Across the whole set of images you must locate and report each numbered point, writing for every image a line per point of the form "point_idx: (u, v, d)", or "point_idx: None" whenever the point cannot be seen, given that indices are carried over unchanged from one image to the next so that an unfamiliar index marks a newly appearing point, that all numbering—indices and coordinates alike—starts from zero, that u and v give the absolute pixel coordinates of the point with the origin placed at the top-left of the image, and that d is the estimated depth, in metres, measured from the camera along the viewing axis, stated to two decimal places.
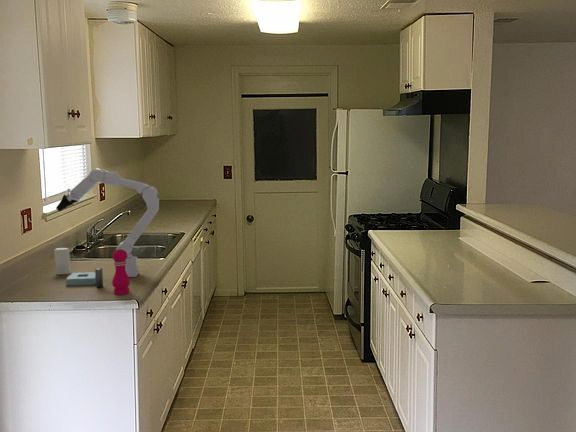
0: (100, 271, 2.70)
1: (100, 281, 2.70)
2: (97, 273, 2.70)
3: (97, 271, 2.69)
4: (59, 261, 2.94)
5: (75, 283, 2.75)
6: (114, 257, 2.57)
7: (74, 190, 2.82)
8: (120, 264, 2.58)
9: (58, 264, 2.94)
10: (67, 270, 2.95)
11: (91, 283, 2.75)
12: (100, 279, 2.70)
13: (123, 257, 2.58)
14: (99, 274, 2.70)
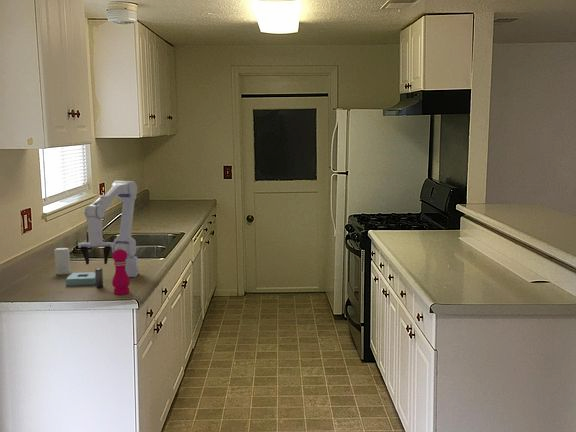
0: (100, 271, 2.70)
1: (100, 281, 2.70)
2: (97, 273, 2.70)
3: (97, 271, 2.69)
4: (59, 261, 2.94)
5: (75, 283, 2.75)
6: (114, 257, 2.57)
7: (100, 238, 2.68)
8: (120, 264, 2.58)
9: (58, 264, 2.94)
10: (67, 270, 2.95)
11: (91, 283, 2.75)
12: (100, 279, 2.70)
13: (123, 257, 2.58)
14: (99, 274, 2.70)
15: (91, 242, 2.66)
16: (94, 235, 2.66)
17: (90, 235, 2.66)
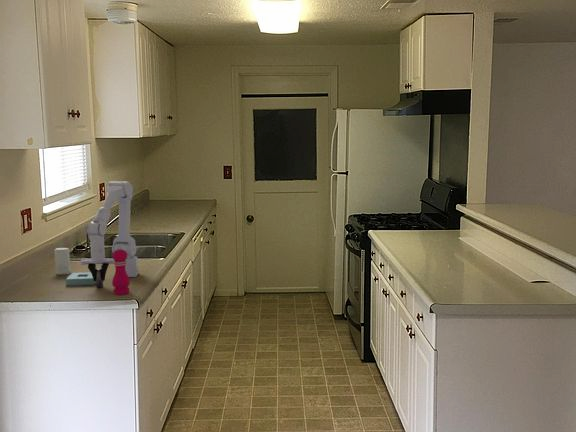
0: (100, 271, 2.70)
1: (100, 281, 2.70)
2: (97, 273, 2.70)
3: (97, 271, 2.69)
4: (59, 261, 2.94)
5: (75, 283, 2.75)
6: (114, 257, 2.57)
7: (103, 255, 2.69)
8: (120, 264, 2.58)
9: (58, 264, 2.94)
10: (67, 270, 2.95)
11: (91, 283, 2.75)
12: (100, 279, 2.70)
13: (123, 257, 2.58)
14: (99, 274, 2.70)
15: (94, 259, 2.67)
16: (97, 252, 2.67)
17: (92, 252, 2.67)
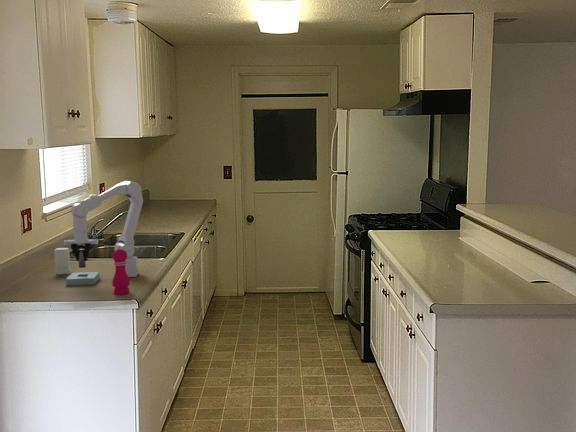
0: (83, 251, 2.78)
1: (83, 261, 2.78)
2: (80, 253, 2.77)
3: (80, 251, 2.77)
4: (59, 261, 2.94)
5: (75, 283, 2.75)
6: (114, 257, 2.57)
7: (85, 236, 2.77)
8: (120, 264, 2.58)
9: (58, 264, 2.94)
10: (67, 270, 2.95)
11: (91, 283, 2.75)
12: (83, 259, 2.78)
13: (123, 257, 2.58)
14: (82, 254, 2.78)
15: (76, 239, 2.75)
16: (79, 233, 2.75)
17: (75, 233, 2.75)
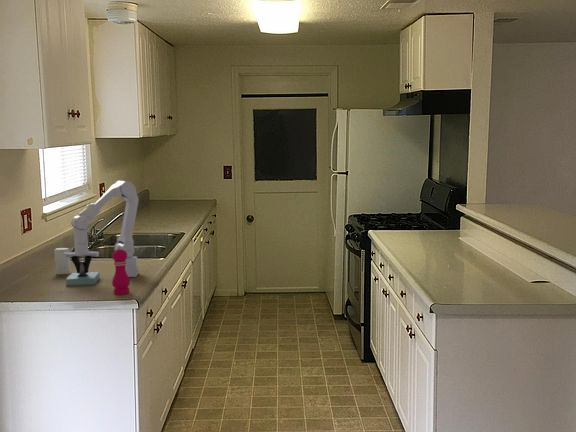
0: (84, 263, 2.78)
1: (83, 273, 2.79)
2: (81, 265, 2.78)
3: (81, 264, 2.78)
4: (59, 261, 2.94)
5: (75, 283, 2.75)
6: (114, 257, 2.57)
7: (86, 248, 2.77)
8: (120, 264, 2.58)
9: (58, 264, 2.94)
10: (67, 270, 2.95)
11: (91, 283, 2.75)
12: (84, 271, 2.79)
13: (123, 257, 2.58)
14: (83, 266, 2.78)
15: (77, 252, 2.76)
16: (80, 245, 2.76)
17: (76, 245, 2.76)
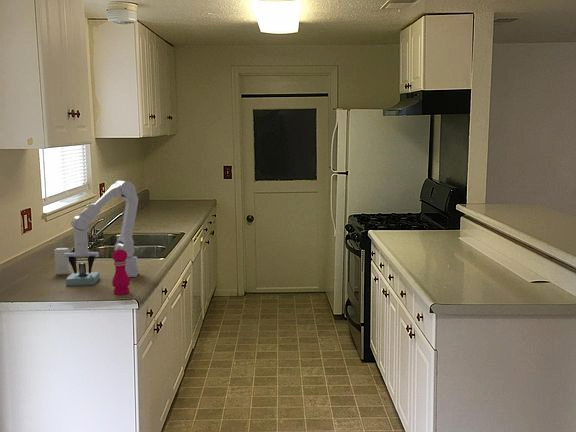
0: (84, 265, 2.79)
1: (83, 275, 2.79)
2: (81, 267, 2.78)
3: (81, 265, 2.78)
4: (59, 261, 2.94)
5: (75, 283, 2.75)
6: (114, 257, 2.57)
7: (86, 249, 2.77)
8: (120, 264, 2.58)
9: (58, 264, 2.94)
10: (67, 270, 2.95)
11: (91, 283, 2.75)
12: (84, 273, 2.79)
13: (123, 257, 2.58)
14: (83, 268, 2.78)
15: (77, 252, 2.76)
16: (80, 246, 2.76)
17: (76, 246, 2.76)
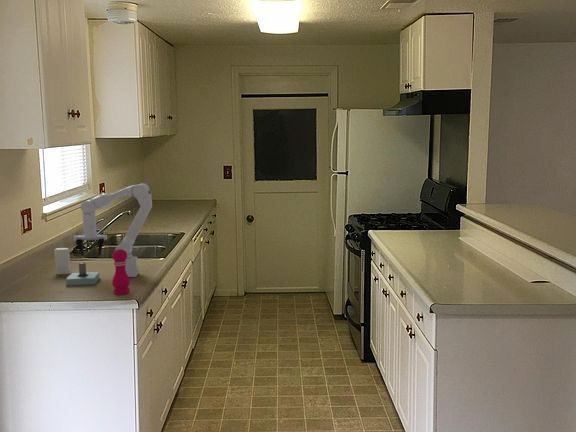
0: (84, 265, 2.79)
1: (83, 275, 2.79)
2: (81, 267, 2.78)
3: (81, 265, 2.78)
4: (59, 261, 2.94)
5: (75, 283, 2.75)
6: (114, 257, 2.57)
7: (94, 231, 2.88)
8: (120, 264, 2.58)
9: (58, 264, 2.94)
10: (67, 270, 2.95)
11: (91, 283, 2.75)
12: (84, 273, 2.79)
13: (123, 257, 2.58)
14: (83, 268, 2.78)
15: (86, 235, 2.86)
16: (89, 228, 2.86)
17: (85, 228, 2.86)
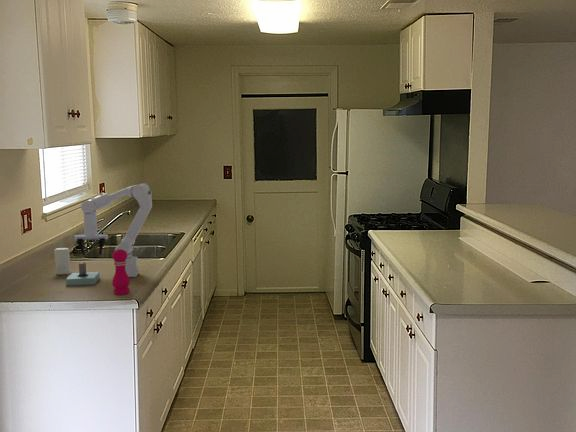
0: (84, 265, 2.79)
1: (83, 275, 2.79)
2: (81, 267, 2.78)
3: (81, 265, 2.78)
4: (59, 261, 2.94)
5: (75, 283, 2.75)
6: (114, 257, 2.57)
7: (95, 231, 2.89)
8: (120, 264, 2.58)
9: (58, 264, 2.94)
10: (67, 270, 2.95)
11: (91, 283, 2.75)
12: (84, 273, 2.79)
13: (123, 257, 2.58)
14: (83, 268, 2.79)
15: (87, 234, 2.87)
16: (89, 228, 2.87)
17: (86, 228, 2.87)
